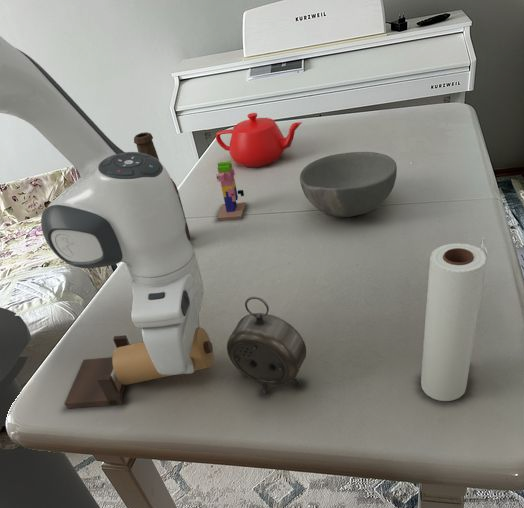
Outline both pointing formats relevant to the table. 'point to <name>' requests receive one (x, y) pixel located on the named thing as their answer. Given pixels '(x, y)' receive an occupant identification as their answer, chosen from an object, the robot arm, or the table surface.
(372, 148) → the table surface
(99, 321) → the table surface
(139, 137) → the beer bottle
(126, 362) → the tan cylinder
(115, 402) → the stand
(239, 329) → the alarm clock
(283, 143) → the teapot
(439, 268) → the paper towel roll
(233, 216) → the figurine
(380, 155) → the bowl
